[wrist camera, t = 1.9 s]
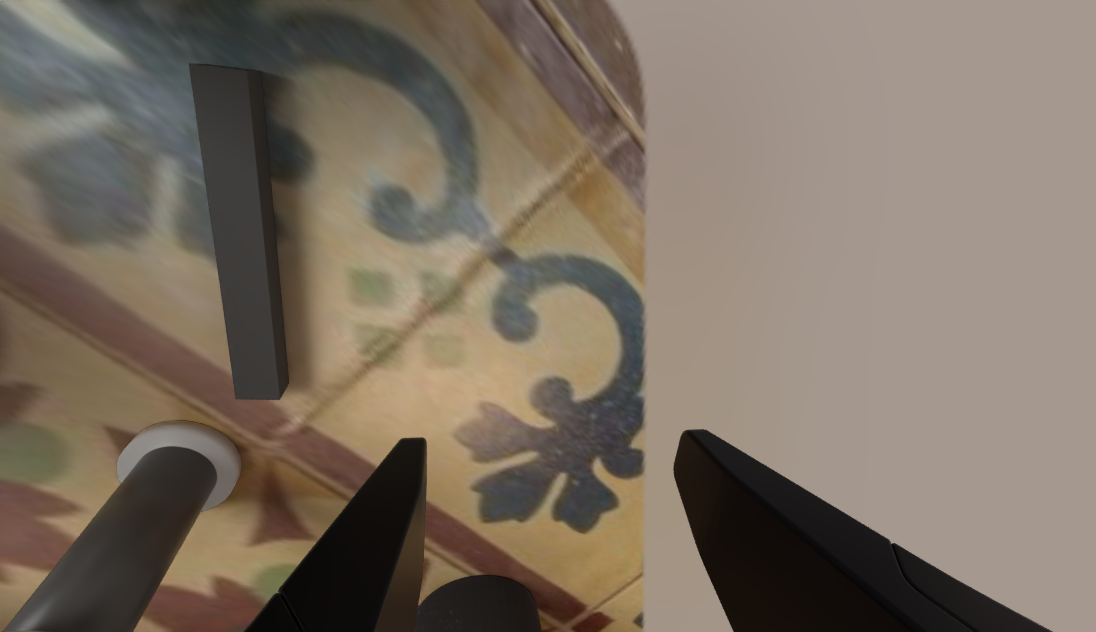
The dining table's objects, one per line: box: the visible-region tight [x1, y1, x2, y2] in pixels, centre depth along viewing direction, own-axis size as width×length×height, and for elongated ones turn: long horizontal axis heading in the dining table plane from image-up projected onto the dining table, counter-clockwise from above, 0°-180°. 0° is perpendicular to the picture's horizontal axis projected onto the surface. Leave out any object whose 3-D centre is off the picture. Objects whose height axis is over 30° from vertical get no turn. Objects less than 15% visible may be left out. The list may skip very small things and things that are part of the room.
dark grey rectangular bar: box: [189, 63, 289, 400], centre depth 19 cm, size 12×2×2 cm, turn 173°
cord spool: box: [3, 420, 242, 632], centre depth 18 cm, size 4×4×10 cm
